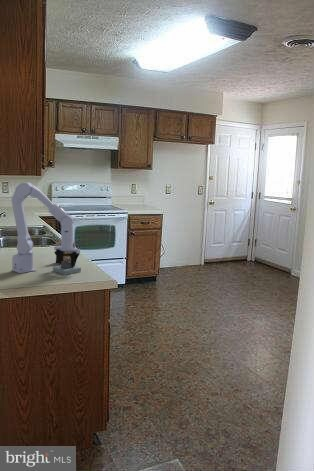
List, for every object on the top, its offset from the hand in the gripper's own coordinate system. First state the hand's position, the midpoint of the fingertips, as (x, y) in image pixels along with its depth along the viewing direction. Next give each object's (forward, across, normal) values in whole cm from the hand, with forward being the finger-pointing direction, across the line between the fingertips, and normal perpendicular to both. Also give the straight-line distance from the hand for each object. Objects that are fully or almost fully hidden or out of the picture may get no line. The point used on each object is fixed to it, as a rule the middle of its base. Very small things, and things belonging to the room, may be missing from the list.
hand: (66, 265), depth 209 cm
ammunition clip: (+3, -12, +15) cm, 20 cm away
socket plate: (+3, 0, 0) cm, 3 cm away
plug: (+3, 0, 0) cm, 3 cm away
